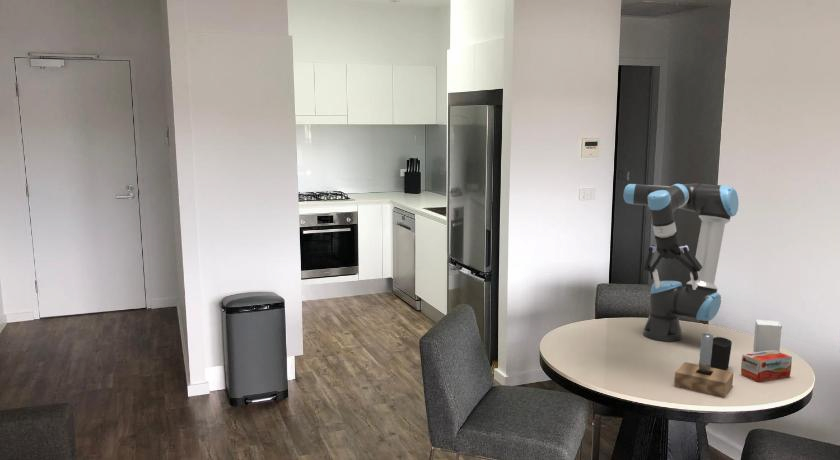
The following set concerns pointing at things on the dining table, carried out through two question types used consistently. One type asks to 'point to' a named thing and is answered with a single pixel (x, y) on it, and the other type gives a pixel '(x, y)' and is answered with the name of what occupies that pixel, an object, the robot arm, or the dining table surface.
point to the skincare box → (767, 336)
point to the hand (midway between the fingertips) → (676, 287)
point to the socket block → (704, 380)
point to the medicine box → (766, 365)
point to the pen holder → (720, 353)
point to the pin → (705, 354)
